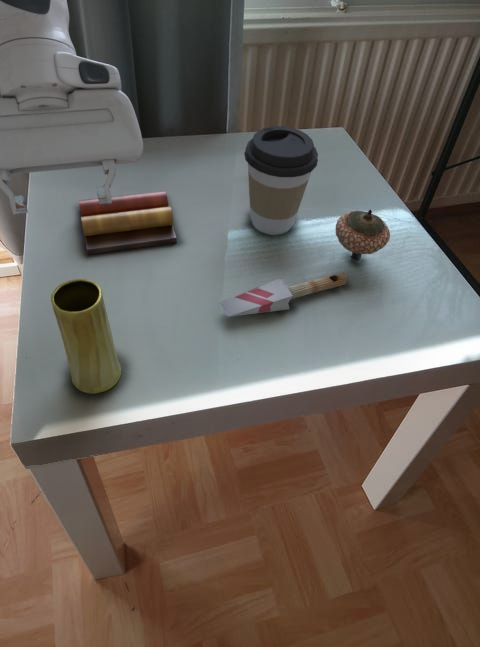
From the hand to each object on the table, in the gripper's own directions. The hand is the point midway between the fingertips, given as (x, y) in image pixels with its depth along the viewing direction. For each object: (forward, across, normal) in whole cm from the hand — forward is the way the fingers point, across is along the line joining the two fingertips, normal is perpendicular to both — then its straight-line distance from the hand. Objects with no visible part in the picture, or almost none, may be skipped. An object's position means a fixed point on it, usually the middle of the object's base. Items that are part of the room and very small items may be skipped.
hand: (63, 208), depth 58 cm
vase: (+20, 0, +4) cm, 21 cm away
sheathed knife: (+15, +28, +9) cm, 33 cm away
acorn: (+11, +42, +13) cm, 46 cm away
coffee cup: (+3, +32, +22) cm, 39 cm away
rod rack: (0, +8, +24) cm, 26 cm away
